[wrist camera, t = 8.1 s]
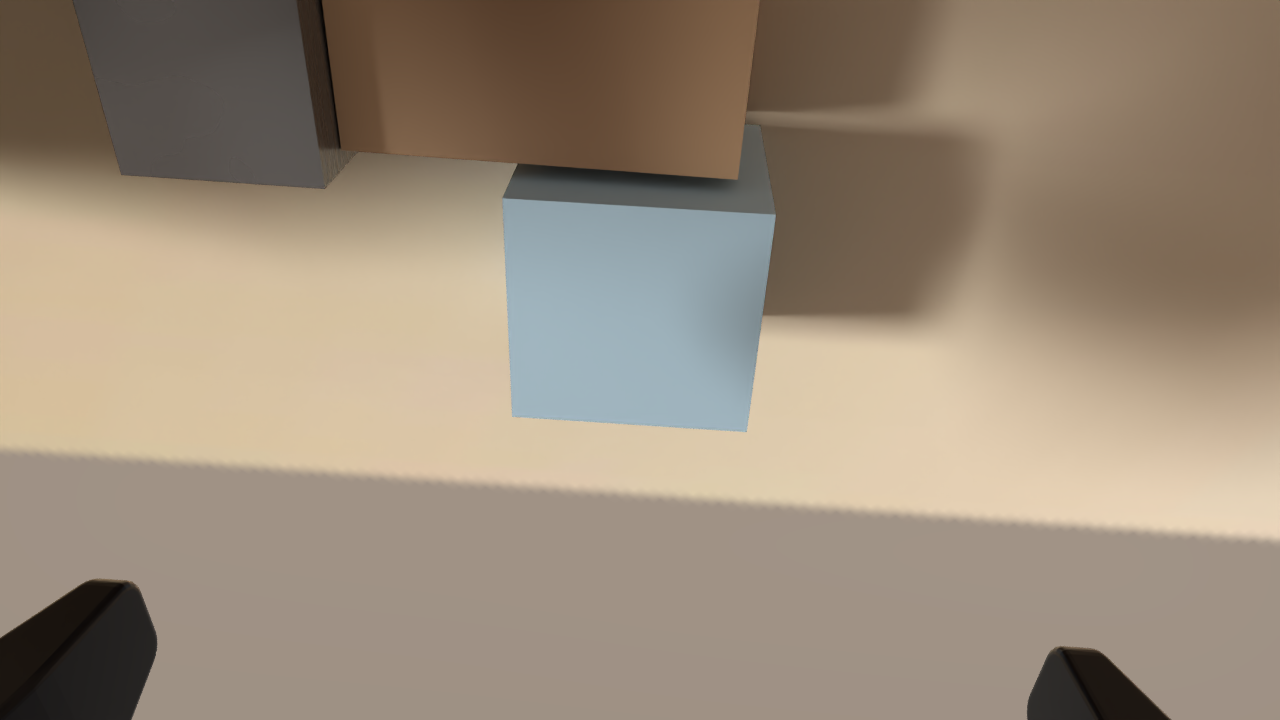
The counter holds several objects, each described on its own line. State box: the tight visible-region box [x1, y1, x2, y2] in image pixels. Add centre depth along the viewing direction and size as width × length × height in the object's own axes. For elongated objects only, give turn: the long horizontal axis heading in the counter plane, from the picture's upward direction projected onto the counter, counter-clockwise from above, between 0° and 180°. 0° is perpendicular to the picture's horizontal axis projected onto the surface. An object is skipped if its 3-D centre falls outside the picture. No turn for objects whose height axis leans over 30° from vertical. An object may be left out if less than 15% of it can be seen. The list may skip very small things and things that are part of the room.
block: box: [502, 124, 776, 432], centre depth 16 cm, size 4×4×4 cm
